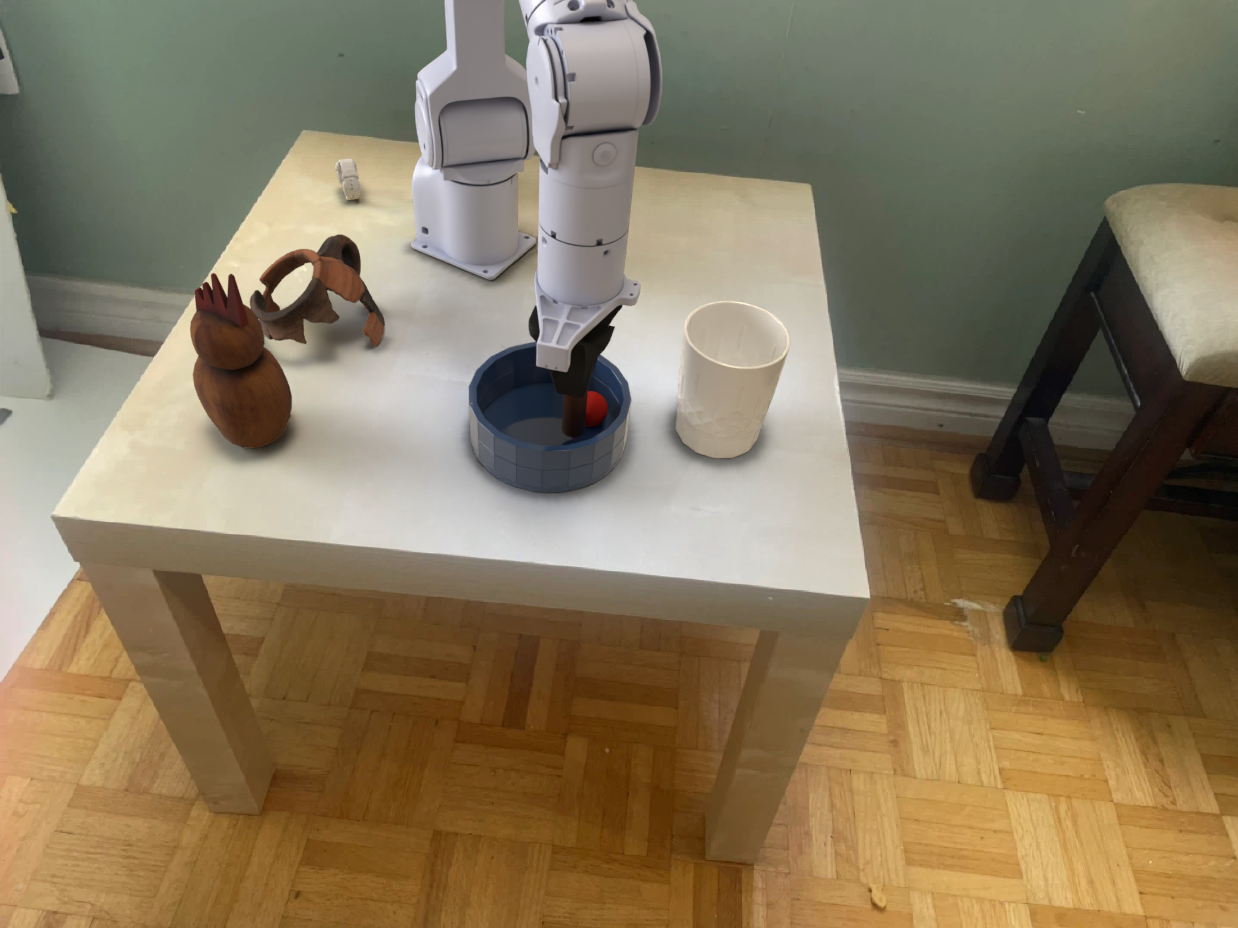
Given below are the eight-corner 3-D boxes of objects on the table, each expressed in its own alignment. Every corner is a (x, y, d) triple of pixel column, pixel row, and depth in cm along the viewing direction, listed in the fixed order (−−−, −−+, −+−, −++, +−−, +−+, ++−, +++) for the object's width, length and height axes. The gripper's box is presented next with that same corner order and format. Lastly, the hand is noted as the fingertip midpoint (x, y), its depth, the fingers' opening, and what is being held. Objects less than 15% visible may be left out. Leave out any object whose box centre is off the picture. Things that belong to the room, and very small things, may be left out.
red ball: (562, 422, 72) (571, 391, 71) (578, 411, 74) (587, 381, 73) (593, 437, 71) (602, 406, 70) (608, 426, 74) (617, 395, 72)
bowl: (439, 450, 70) (435, 408, 67) (526, 364, 78) (526, 322, 75) (575, 516, 67) (578, 475, 64) (652, 419, 75) (658, 378, 71)
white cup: (737, 480, 71) (762, 383, 63) (650, 436, 73) (664, 339, 66) (780, 422, 76) (807, 326, 68) (696, 384, 78) (715, 287, 71)
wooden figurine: (313, 436, 70) (276, 273, 59) (244, 472, 67) (191, 308, 56) (265, 390, 73) (221, 227, 62) (197, 423, 70) (139, 258, 59)
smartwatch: (365, 205, 93) (360, 168, 90) (343, 207, 92) (337, 171, 89) (359, 187, 95) (354, 151, 92) (337, 189, 94) (332, 153, 91)
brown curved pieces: (381, 374, 76) (315, 315, 70) (293, 391, 80) (223, 337, 74) (409, 263, 82) (351, 199, 76) (326, 284, 86) (264, 224, 79)
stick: (557, 432, 71) (562, 329, 63) (569, 418, 72) (575, 316, 64) (577, 441, 70) (584, 339, 63) (589, 427, 71) (597, 325, 64)
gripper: (622, 300, 52) (605, 462, 62) (666, 176, 62) (645, 333, 72) (503, 276, 53) (505, 441, 63) (565, 157, 63) (558, 315, 73)
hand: (574, 382), depth 67 cm, fingers closed on stick, 2 cm apart
